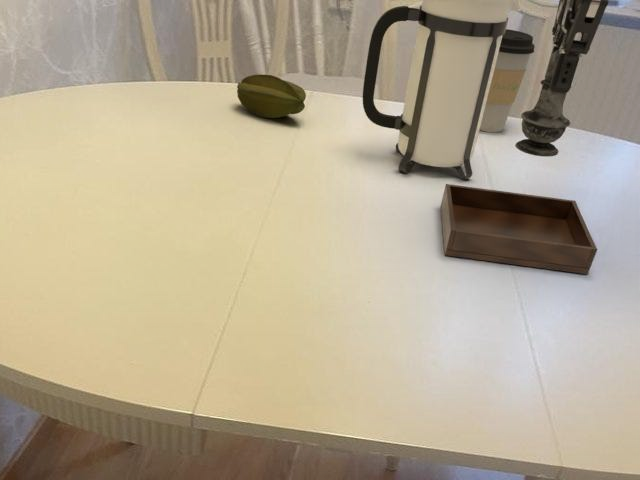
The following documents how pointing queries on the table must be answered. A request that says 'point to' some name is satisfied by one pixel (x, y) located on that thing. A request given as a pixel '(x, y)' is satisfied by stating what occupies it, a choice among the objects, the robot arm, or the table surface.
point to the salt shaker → (544, 119)
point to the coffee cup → (506, 78)
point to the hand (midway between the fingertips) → (556, 85)
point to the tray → (515, 229)
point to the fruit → (270, 96)
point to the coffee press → (442, 79)
